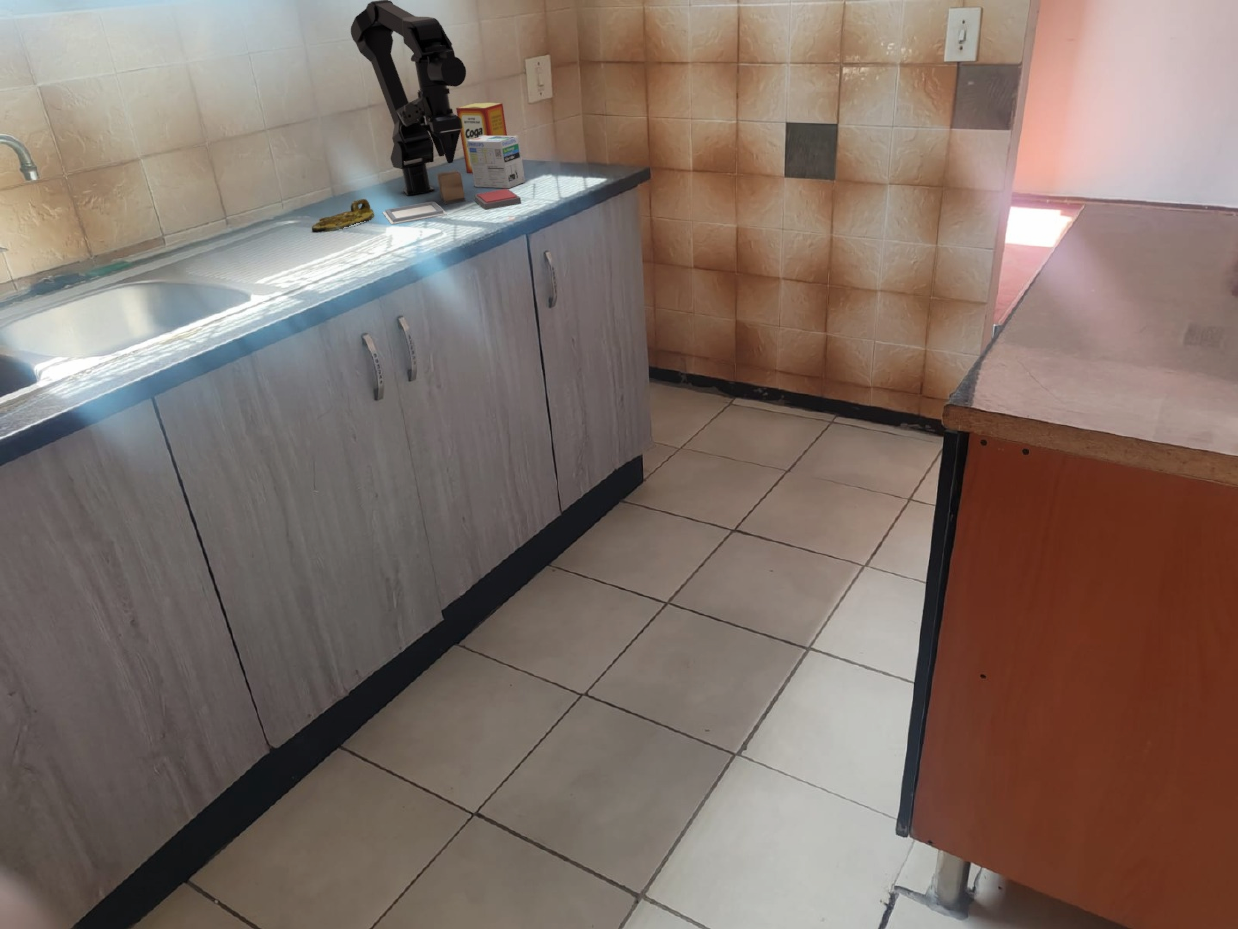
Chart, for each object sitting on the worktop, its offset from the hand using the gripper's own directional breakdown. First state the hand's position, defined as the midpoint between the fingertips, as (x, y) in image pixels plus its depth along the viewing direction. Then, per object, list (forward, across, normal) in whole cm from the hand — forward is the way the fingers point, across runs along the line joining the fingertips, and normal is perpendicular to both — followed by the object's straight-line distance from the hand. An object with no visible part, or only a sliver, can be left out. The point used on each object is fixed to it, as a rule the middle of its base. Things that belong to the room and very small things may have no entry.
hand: (445, 159), depth 205 cm
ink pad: (+9, +9, +8) cm, 15 cm away
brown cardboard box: (+9, 0, 0) cm, 9 cm away
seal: (+10, +3, -25) cm, 27 cm away
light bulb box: (+9, -8, +13) cm, 18 cm away
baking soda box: (+9, -26, +15) cm, 31 cm away
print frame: (+9, +6, -10) cm, 15 cm away
